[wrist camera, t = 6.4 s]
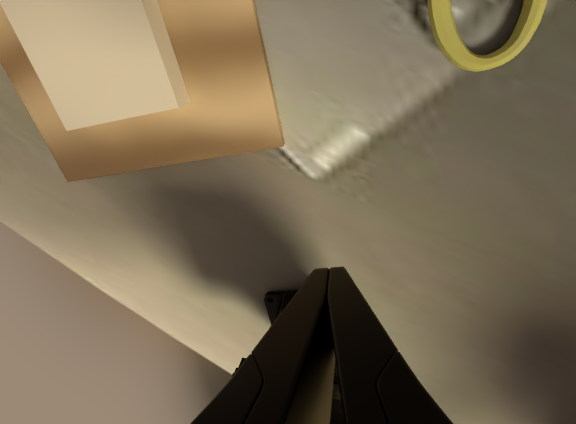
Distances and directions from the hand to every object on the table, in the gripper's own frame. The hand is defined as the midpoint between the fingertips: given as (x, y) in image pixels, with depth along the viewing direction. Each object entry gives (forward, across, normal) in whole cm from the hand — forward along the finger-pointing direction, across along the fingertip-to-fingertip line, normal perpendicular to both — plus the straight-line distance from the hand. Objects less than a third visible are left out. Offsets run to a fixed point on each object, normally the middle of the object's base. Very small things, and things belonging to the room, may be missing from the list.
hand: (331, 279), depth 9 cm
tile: (+10, +8, -8) cm, 15 cm away
